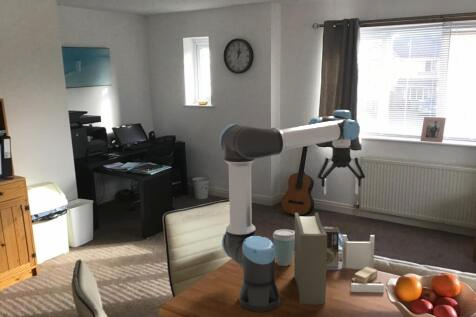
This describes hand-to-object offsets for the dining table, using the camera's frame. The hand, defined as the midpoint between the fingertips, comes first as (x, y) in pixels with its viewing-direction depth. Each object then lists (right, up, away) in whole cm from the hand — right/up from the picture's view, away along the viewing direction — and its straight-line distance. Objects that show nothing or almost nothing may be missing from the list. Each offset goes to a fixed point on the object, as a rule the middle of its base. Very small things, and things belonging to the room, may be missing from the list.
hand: (340, 193), depth 181 cm
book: (-18, -36, -21) cm, 45 cm away
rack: (+5, -34, -14) cm, 37 cm away
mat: (-6, -31, -1) cm, 32 cm away
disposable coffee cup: (-24, -31, +2) cm, 40 cm away
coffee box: (-6, -31, -1) cm, 31 cm away
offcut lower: (+5, -35, -19) cm, 40 cm away
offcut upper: (+5, -32, -18) cm, 37 cm away
